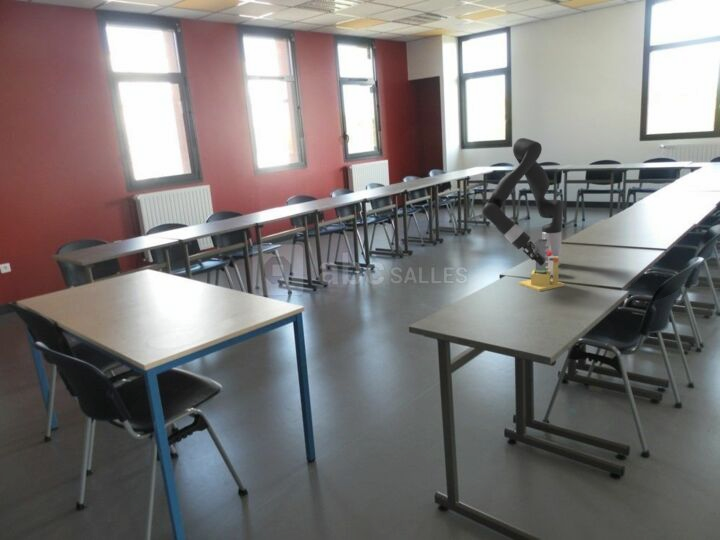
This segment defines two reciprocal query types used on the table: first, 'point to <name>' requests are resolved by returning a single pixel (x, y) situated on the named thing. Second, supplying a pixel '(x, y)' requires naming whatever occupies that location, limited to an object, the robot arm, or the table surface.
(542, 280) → the stand base
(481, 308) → the table surface
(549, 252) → the pill bottle
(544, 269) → the column
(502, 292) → the table surface
